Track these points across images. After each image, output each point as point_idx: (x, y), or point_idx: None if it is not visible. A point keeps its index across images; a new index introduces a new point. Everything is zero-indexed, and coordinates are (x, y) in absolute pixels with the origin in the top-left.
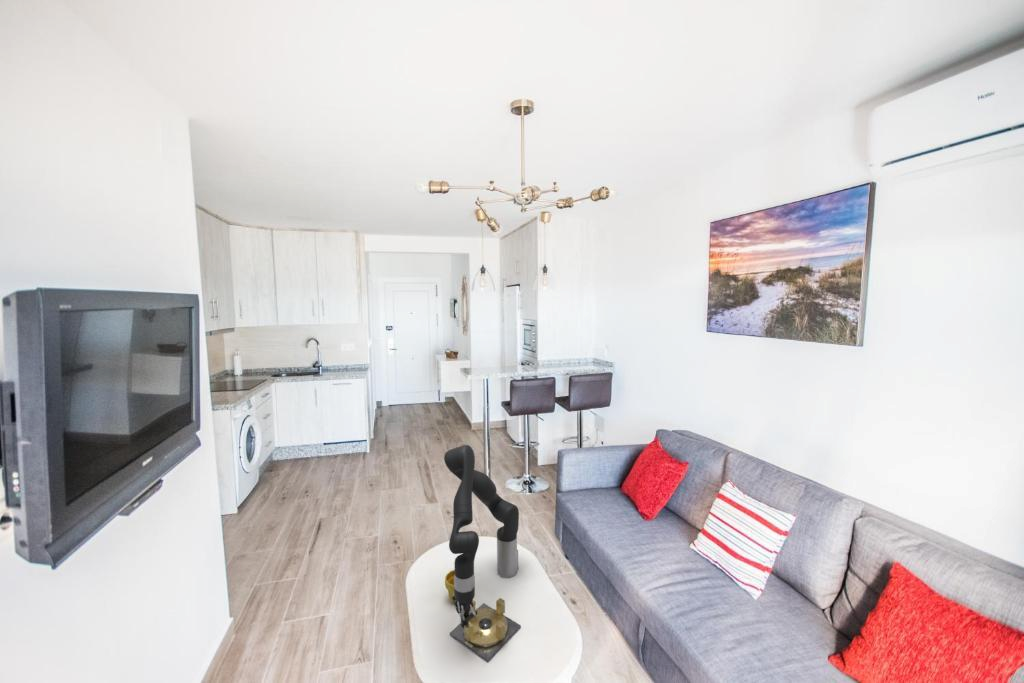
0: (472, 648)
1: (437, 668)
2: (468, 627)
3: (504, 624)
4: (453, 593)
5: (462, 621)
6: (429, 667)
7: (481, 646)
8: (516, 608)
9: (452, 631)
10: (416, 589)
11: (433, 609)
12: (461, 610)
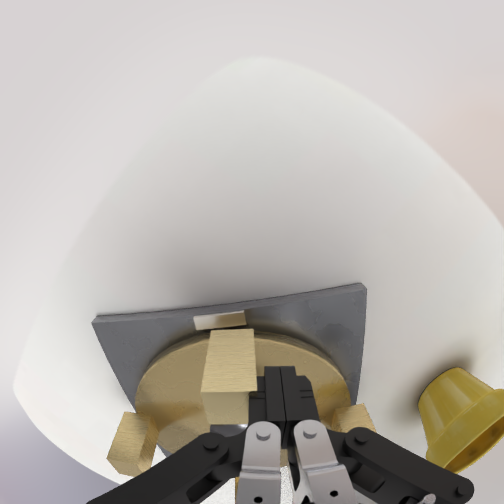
0: (186, 318)
1: (231, 103)
2: (212, 398)
3: (117, 471)
4: (464, 401)
5: (281, 406)
6: (270, 77)
7: (161, 352)
8: None
9: (360, 305)
10: None
11: (486, 300)
12: (307, 494)
